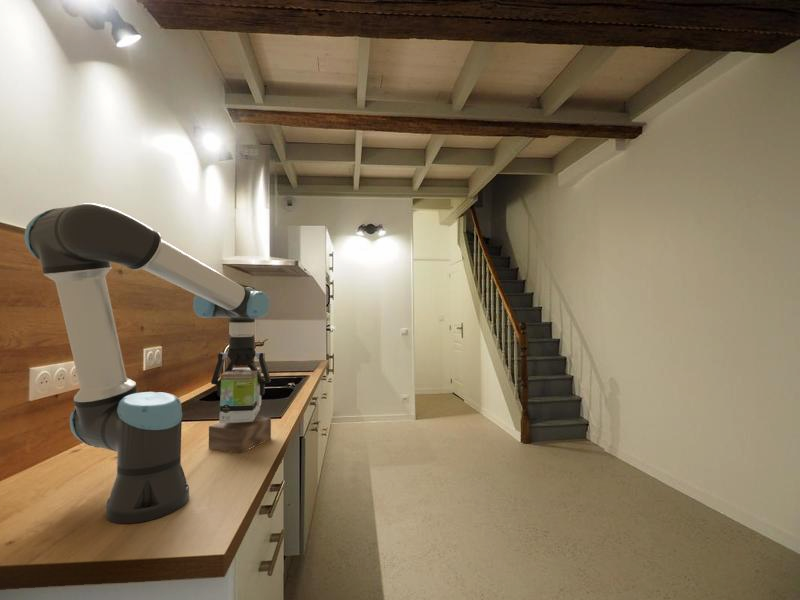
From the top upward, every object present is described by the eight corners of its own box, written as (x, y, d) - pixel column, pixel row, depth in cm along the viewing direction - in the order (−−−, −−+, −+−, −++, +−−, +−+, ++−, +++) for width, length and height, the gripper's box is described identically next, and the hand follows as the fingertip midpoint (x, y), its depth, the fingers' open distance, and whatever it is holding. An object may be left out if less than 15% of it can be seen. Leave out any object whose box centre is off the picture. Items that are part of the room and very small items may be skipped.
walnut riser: (241, 454, 116) (241, 430, 117) (208, 449, 120) (208, 426, 120) (270, 439, 130) (270, 417, 130) (240, 435, 133) (240, 414, 134)
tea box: (254, 422, 119) (255, 372, 119) (218, 424, 117) (219, 373, 117) (260, 409, 134) (261, 366, 134) (229, 411, 131) (229, 366, 132)
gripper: (281, 334, 131) (280, 402, 130) (208, 335, 128) (207, 404, 127) (276, 336, 123) (275, 407, 123) (199, 336, 121) (198, 409, 120)
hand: (241, 406), depth 125 cm, fingers closed on tea box, 10 cm apart
